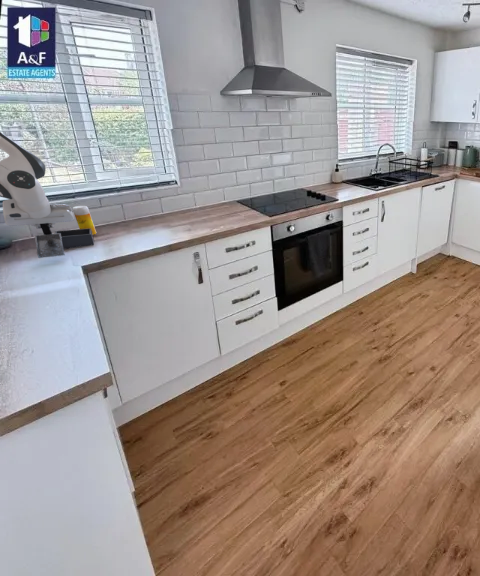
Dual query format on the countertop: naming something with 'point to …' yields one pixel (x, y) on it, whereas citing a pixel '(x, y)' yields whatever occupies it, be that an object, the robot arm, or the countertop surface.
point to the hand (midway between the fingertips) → (45, 226)
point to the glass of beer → (84, 218)
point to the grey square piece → (49, 243)
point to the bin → (76, 238)
